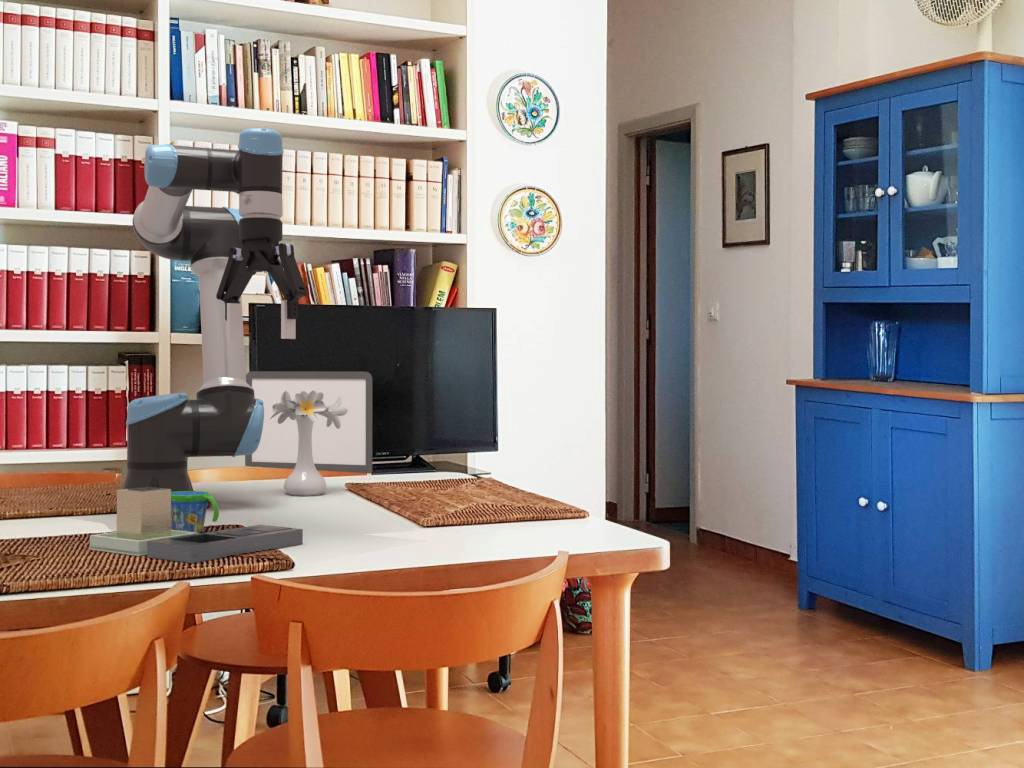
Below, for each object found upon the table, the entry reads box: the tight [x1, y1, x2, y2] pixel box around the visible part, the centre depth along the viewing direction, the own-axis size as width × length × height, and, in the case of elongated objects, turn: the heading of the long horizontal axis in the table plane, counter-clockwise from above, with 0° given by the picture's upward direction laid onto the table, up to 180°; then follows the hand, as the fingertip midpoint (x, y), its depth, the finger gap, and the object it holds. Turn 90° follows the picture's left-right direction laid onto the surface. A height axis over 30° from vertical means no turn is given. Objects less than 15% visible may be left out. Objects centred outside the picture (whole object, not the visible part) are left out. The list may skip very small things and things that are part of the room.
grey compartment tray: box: [146, 524, 304, 564], centre depth 190 cm, size 10×24×3 cm, turn 146°
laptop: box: [244, 370, 373, 474], centre depth 299 cm, size 38×29×29 cm
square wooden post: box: [116, 487, 171, 541], centre depth 192 cm, size 6×6×9 cm
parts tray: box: [89, 530, 198, 557], centre depth 192 cm, size 12×12×2 cm
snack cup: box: [171, 490, 220, 533], centre depth 208 cm, size 11×8×7 cm
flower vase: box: [269, 390, 348, 497], centre depth 264 cm, size 13×18×25 cm
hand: (260, 339), depth 207 cm, fingers open, 13 cm apart
